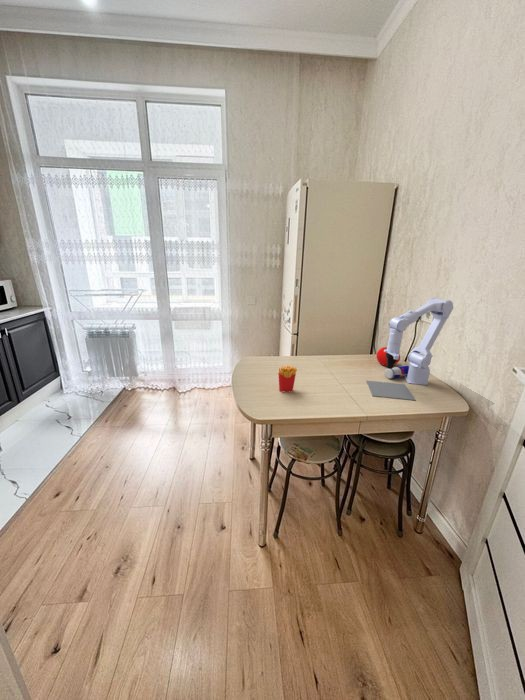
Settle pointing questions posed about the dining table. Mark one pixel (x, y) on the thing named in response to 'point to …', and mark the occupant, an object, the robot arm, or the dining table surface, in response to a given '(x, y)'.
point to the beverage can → (397, 372)
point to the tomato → (384, 357)
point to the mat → (390, 390)
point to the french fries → (286, 378)
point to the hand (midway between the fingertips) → (389, 368)
